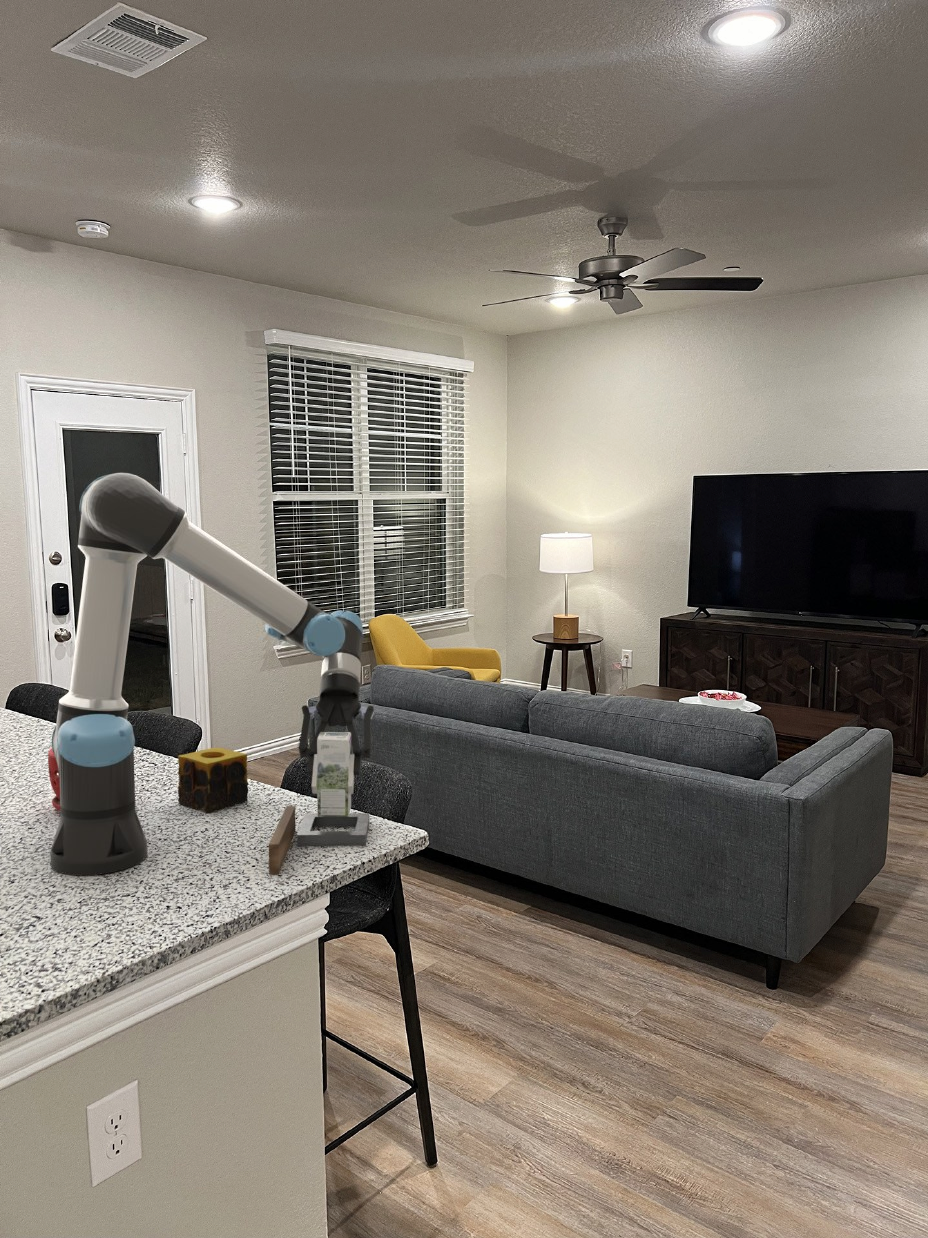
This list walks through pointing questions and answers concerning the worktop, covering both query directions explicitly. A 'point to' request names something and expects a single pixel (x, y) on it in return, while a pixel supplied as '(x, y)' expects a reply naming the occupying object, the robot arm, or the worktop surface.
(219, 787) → the candle
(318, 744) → the syrup box
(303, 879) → the worktop surface
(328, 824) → the block
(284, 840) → the rail
